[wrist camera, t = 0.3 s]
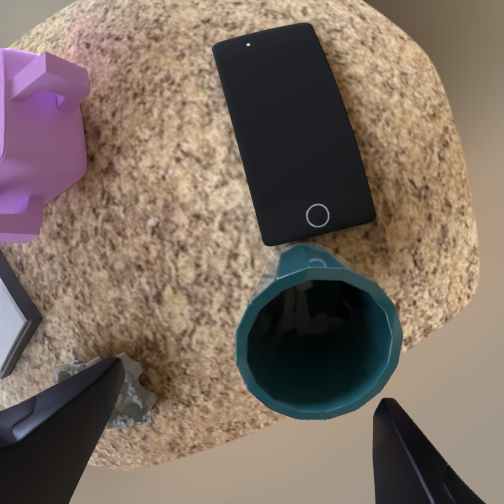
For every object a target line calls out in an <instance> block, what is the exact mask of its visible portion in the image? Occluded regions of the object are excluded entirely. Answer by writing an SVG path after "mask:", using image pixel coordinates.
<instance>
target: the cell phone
mask: <svg viewBox="0 0 504 504" xmlns="http://www.w3.org/2000/svg"><path fill="white" fill-rule="evenodd" d="M212 51H213V55H214V58H215V62H216V66H217V69H218V73H219V77H220V80H221V84H222V88H223V91H224V95H225V99H226V102H227V106H228V110H229V114H230V117H231V121H232V125H233V128H234V132H235V136H236V140H237V144H238V147H239V151H240V155H241V159H242V162H243V166H244V170H245V174H246V178H247V182H248V185H249V189H250V193H251V197H252V201H253V205H254V209H255V213H256V216H257V220H258V224H259V228H260V232H261V236H262V240H263V243H264V244H265V245H266V246H276V245H281V244H285V243H289V242H293V241H297V240H301V239H305V238H309V237H313V236H317V235H321V234H325V233H329V232H334V231H338V230H342V229H346V228H350V227H354V226H358V225H362V224H366V223H369V222H372V221H373V220H374V219H375V218H376V213H375V208H374V204H373V200H372V196H371V192H370V188H369V184H368V180H367V177H366V173H365V169H364V166H363V162H362V159H361V155H360V152H359V149H358V145H357V142H356V139H355V136H354V133H353V130H352V126H351V123H350V120H349V117H348V114H347V112H346V109H345V106H344V103H343V100H342V97H341V95H340V92H339V89H338V87H337V84H336V81H335V79H334V76H333V73H332V71H331V68H330V66H329V63H328V61H327V58H326V56H325V54H324V51H323V49H322V47H321V44H320V42H319V40H318V37H317V35H316V33H315V31H314V29H313V26H312V25H311V24H309V23H298V24H292V25H287V26H282V27H277V28H272V29H268V30H263V31H259V32H255V33H251V34H247V35H243V36H239V37H235V38H232V39H228V40H225V41H221V42H219V43H216V44H215V45H213V47H212Z"/></svg>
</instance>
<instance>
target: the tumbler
mask: <svg viewBox="0 0 504 504" xmlns="http://www.w3.org/2000/svg"><path fill="white" fill-rule="evenodd" d="M402 339H403V333H402V329H401V325H400V321H399V317H398V313H397V309H396V307H395V305H394V303H393V302H392V301H391V300H390V298H389V297H388V296H387V295H386V294H385V292H384V291H383V290H382V289H381V288H380V286H379V285H378V284H377V283H376V282H375V281H373V280H372V279H371V278H369V277H368V276H367V275H365V274H364V273H363V272H361V271H360V270H359V269H357V268H356V267H355V266H353V265H352V264H351V263H349V262H348V261H347V260H345V259H344V258H343V257H341V256H340V255H339V254H337V253H336V252H334V251H333V250H331V249H329V248H327V247H325V246H323V245H321V244H318V243H314V242H299V243H294V244H291V245H289V246H286V247H285V248H283V249H281V250H280V251H279V252H277V253H276V254H275V255H274V256H273V257H272V259H271V260H270V261H269V262H268V264H267V266H266V269H265V271H264V273H263V275H262V277H261V279H260V281H259V283H258V285H257V287H256V289H255V292H254V294H253V296H252V298H251V300H250V302H249V304H248V306H247V308H246V310H245V313H244V315H243V317H242V319H241V321H240V323H239V326H238V328H237V330H236V334H235V362H236V365H237V368H238V370H239V372H240V374H241V376H242V379H243V381H244V383H245V385H246V387H247V389H248V391H250V392H251V393H252V394H253V395H254V396H255V397H256V398H257V399H258V400H259V401H261V402H262V403H263V404H264V405H265V406H266V407H267V408H269V409H270V410H273V411H276V412H278V413H281V414H284V415H286V416H289V417H292V418H295V419H301V420H327V419H331V418H334V417H338V416H341V415H344V414H347V413H349V412H352V411H355V410H356V409H359V408H360V407H361V406H363V405H364V404H366V403H367V402H368V401H369V400H371V399H372V398H373V397H375V396H376V395H377V394H378V393H380V392H381V390H382V389H383V388H384V386H385V385H386V383H387V382H388V380H389V379H390V377H391V375H392V374H393V372H394V371H395V369H396V367H397V365H398V361H399V356H400V350H401V345H402Z"/></svg>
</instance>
